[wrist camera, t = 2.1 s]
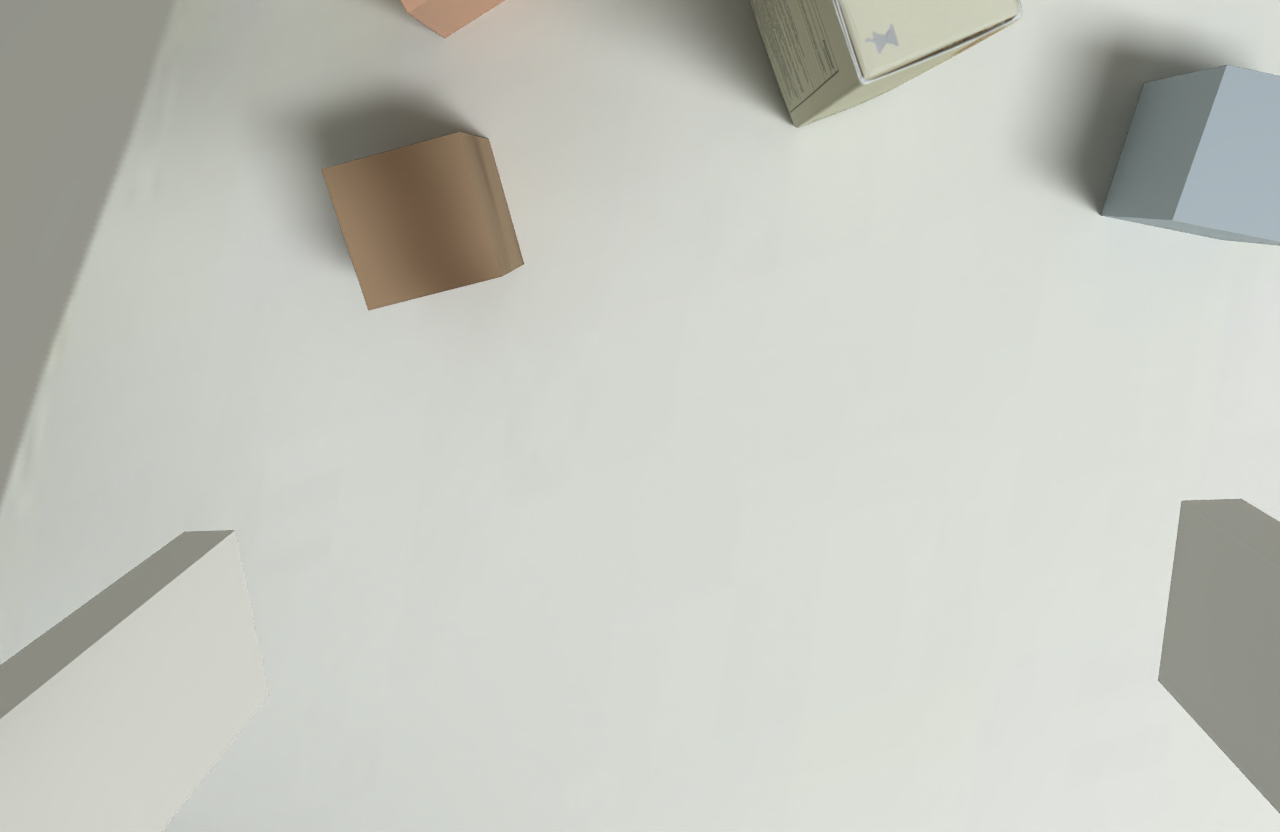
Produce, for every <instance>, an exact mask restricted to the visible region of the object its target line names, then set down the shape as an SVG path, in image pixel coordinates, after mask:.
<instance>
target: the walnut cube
mask: <svg viewBox="0 0 1280 832" xmlns="http://www.w3.org/2000/svg"><path fill="white" fill-rule="evenodd" d="M321 170H322V173H323V176H324V179H325V182H326V185H327V188H328V191H329V194H330V197H331V200H332V203H333V206H334V209H335V212H336V215H337V218H338V221H339V224H340V227H341V230H342V233H343V236H344V239H345V242H346V245H347V248H348V251H349V254H350V257H351V260H352V263H353V266H354V269H355V272H356V275H357V278H358V281H359V284H360V287H361V290H362V293H363V296H364V299H365V302H366V305H367V308H368V310H372V309H376V308H380V307H384V306H388V305H392V304H396V303H400V302H404V301H407V300H411V299H415V298H419V297H423V296H427V295H431V294H435V293H439V292H443V291H447V290H451V289H455V288H458V287H462V286H466V285H470V284H474V283H478V282H482V281H486V280H490V279H494V278H498V277H502V276H504V275H505V274H507V273H509V272H511V271H512V270H514V269H516V268H518V267H520V266H521V265H523V264H524V262H523V258H522V255H521V251H520V248H519V244H518V241H517V237H516V234H515V230H514V226H513V223H512V219H511V216H510V212H509V209H508V205H507V202H506V198H505V195H504V191H503V188H502V184H501V180H500V177H499V173H498V170H497V166H496V163H495V159H494V156H493V152H492V149H491V145H490V142H489V139H486V138H482V137H478V136H474V135H471V134H467V133H463V132H457V133H453V134H449V135H446V136H442V137H438V138H435V139H431V140H427V141H424V142H420V143H416V144H412V145H409V146H405V147H401V148H398V149H394V150H390V151H387V152H383V153H379V154H376V155H372V156H368V157H365V158H361V159H357V160H354V161H350V162H346V163H343V164H339V165H335V166H332V167H328V168H324V169H321Z"/></svg>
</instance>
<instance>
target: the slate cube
mask: <svg viewBox="0 0 1280 832" xmlns="http://www.w3.org/2000/svg"><path fill="white" fill-rule="evenodd" d="M1101 216H1106V217H1111V218H1116V219H1121V220H1126V221H1131V222H1136V223H1141V224H1146V225H1151V226H1156V227H1161V228H1166V229H1171V230H1175V231H1180V232H1185V233H1190V234H1195V235H1200V236H1205V237H1210V238H1215V239H1220V240H1228V241H1238V242H1248V243H1259V244H1269V245H1279V246H1280V76H1278V75H1273V74H1269V73H1264V72H1259V71H1254V70H1249V69H1244V68H1239V67H1235V66H1230V65H1224V66H1220V67H1215V68H1210V69H1206V70H1201V71H1196V72H1192V73H1187V74H1183V75H1178V76H1173V77H1169V78H1164V79H1159V80H1155V81H1150V82H1145V83H1144V85H1143V88H1142V91H1141V94H1140V97H1139V100H1138V103H1137V106H1136V109H1135V113H1134V116H1133V119H1132V122H1131V125H1130V128H1129V131H1128V134H1127V137H1126V140H1125V143H1124V146H1123V149H1122V152H1121V155H1120V158H1119V161H1118V164H1117V167H1116V170H1115V173H1114V176H1113V179H1112V183H1111V186H1110V189H1109V192H1108V195H1107V198H1106V201H1105V204H1104V207H1103V210H1102V213H1101Z"/></svg>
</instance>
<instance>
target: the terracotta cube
mask: <svg viewBox="0 0 1280 832" xmlns="http://www.w3.org/2000/svg"><path fill="white" fill-rule="evenodd" d="M503 1H505V0H401V2H402V4H403V6H404V7H405V9H406V11H407V13H408V14H410V15H411V16H413V17H414V18H416V19H417V20H419V21H420V22H422V23H423V24H425V25H426V26H428V27H429V28H431V29H432V30H433V31H435V32H436V33H438V34H439V35H441V36H442V37H444V38H446V37H448V36H449V35H451V34H452V33H454V32H456V31H457V30H459V29H460V28H462V27H463V26H465V25H467V24H468V23H470V22H471V21H473V20H475V19H476V18H478V17H479V16H481V15H483V14H484V13H486V12H487V11H489V10H490V9H492V8H494V7H495V6H497V5H498V4H500V3H502V2H503Z"/></svg>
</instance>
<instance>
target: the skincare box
mask: <svg viewBox="0 0 1280 832" xmlns="http://www.w3.org/2000/svg"><path fill="white" fill-rule="evenodd" d="M750 3H751V6H752V9H753V12H754V15H755V18H756V21H757V24H758V28H759V31H760V34H761V37H762V39H763V42H764V45H765V48H766V51H767V54H768V56H769V59H770V62H771V65H772V68H773V71H774V74H775V76H776V79H777V82H778V85H779V87H780V90H781V93H782V95H783V98H784V101H785V103H786V106H787V108H788V111H789V113H790V116H791V119H792V121H793V124H794V126H795V127H797V128H799V127H802V126H805V125H807V124H810V123H813V122H816V121H818V120H821V119H824V118H826V117H829V116H831V115H834V114H837V113H839V112H842V111H844V110H846V109H849V108H851V107H854V106H856V105H859V104H861V103H863V102H866V101H868V100H870V99H873V98H875V97H877V96H879V95H881V94H884V93H886V92H888V91H890V90H892V89H894V88H896V87H898V86H900V85H902V84H903V83H905V82H907V81H909V80H911V79H913V78H915V77H917V76H919V75H920V74H922V73H924V72H925V71H927V70H929V69H931V68H933V67H935V66H937V65H939V64H941V63H942V62H944V61H946V60H948V59H950V58H952V57H954V56H956V55H957V54H959V53H961V52H963V51H965V50H966V49H968V48H970V47H972V46H974V45H976V44H977V43H979V42H981V41H983V40H985V39H986V38H988V37H990V36H992V35H994V34H995V33H997V32H999V31H1001V30H1002V29H1004V28H1006V27H1008V26H1010V25H1011V24H1013V23H1015V22H1016V21H1018V20H1019V19H1020V18H1021V15H1022V7H1021V2H1020V0H750Z"/></svg>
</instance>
